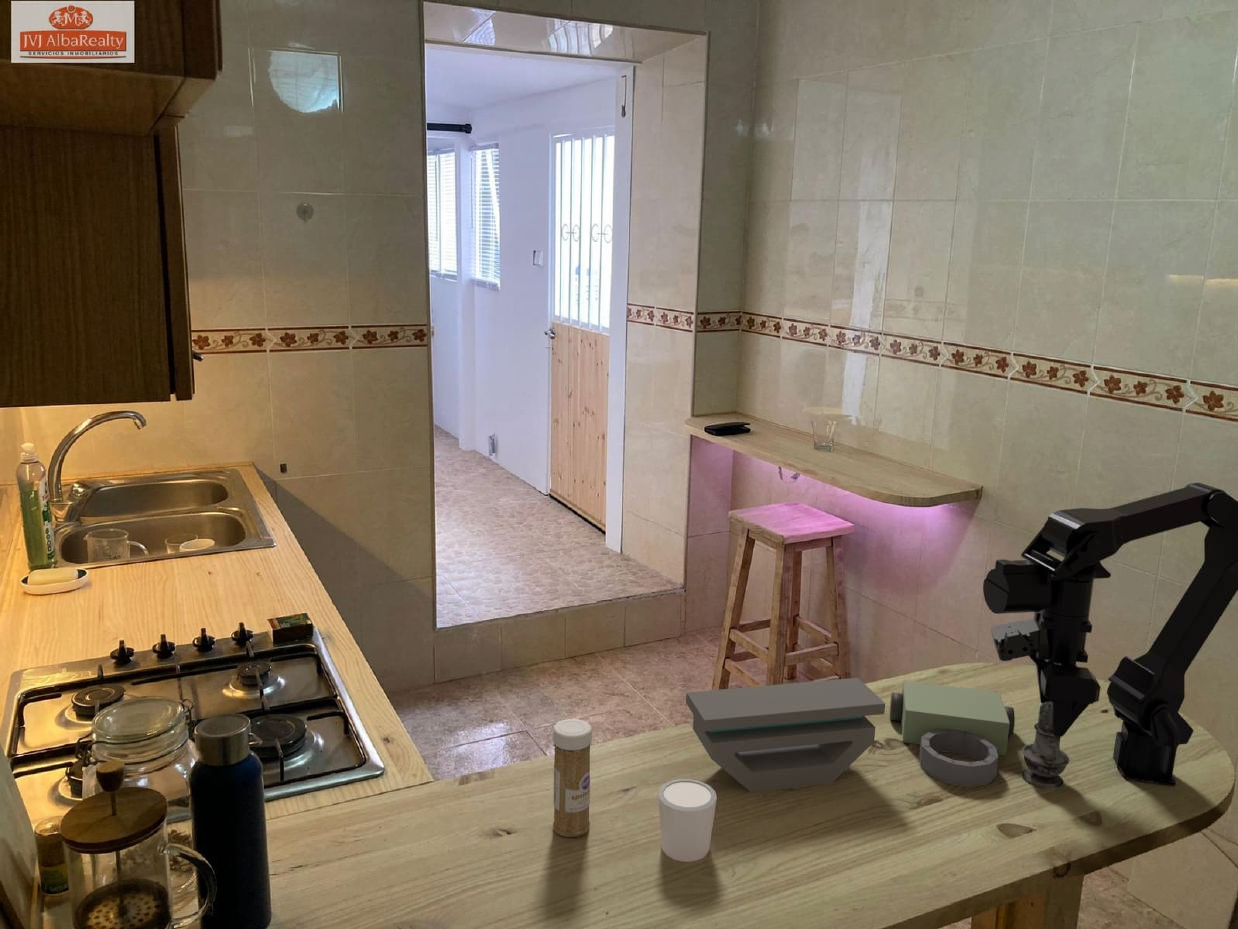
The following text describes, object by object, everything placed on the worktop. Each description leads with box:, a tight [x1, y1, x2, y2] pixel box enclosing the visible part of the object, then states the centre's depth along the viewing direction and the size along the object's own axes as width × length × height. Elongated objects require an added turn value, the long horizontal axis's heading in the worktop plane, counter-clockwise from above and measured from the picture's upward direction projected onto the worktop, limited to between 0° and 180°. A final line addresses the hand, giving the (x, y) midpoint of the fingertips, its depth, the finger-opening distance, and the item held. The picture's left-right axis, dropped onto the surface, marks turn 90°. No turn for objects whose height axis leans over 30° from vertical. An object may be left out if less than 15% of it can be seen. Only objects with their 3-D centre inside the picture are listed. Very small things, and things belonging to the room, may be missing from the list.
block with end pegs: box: [889, 680, 1016, 788], centre depth 137 cm, size 17×20×5 cm
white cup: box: [657, 778, 718, 863], centre depth 113 cm, size 7×7×7 cm
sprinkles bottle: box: [552, 718, 593, 838], centre depth 115 cm, size 5×5×13 cm
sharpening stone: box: [685, 677, 886, 793], centre depth 129 cm, size 25×8×11 cm, turn 103°
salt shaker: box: [1020, 701, 1070, 790], centre depth 129 cm, size 6×6×12 cm
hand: (1051, 719), depth 128 cm, fingers open, 9 cm apart
